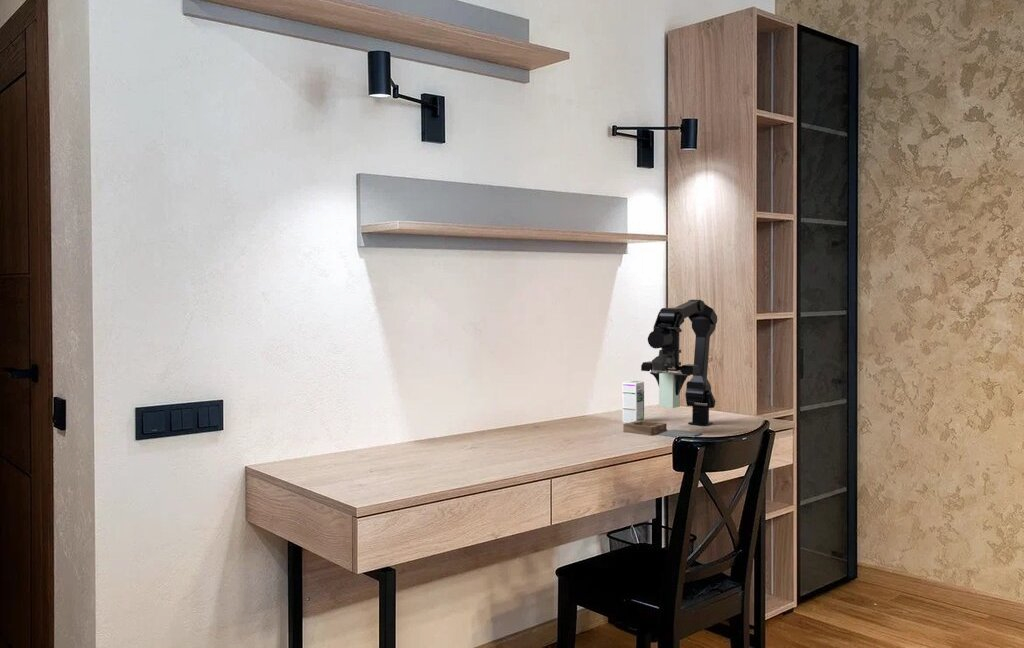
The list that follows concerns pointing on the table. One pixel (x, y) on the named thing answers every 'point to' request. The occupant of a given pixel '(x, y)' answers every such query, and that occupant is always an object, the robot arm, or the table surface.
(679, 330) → the robot arm
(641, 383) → the syrup box
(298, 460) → the table surface
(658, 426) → the pocket block
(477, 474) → the table surface
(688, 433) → the mat
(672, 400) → the sage block
